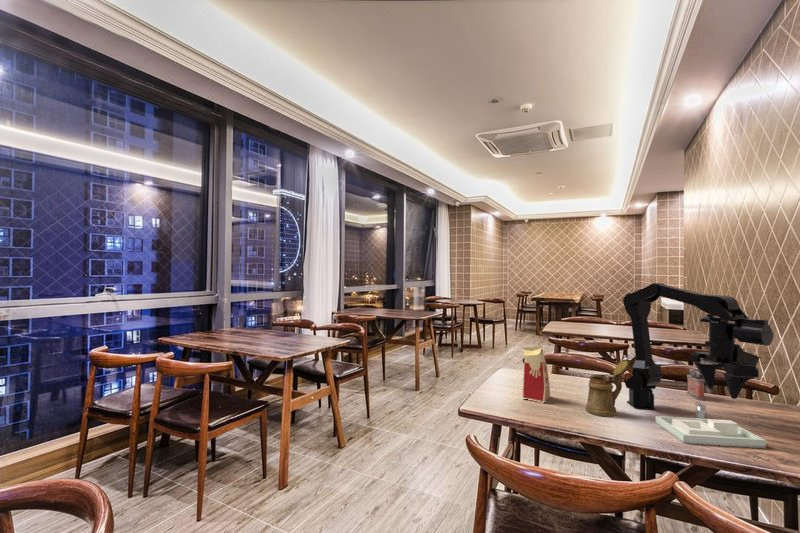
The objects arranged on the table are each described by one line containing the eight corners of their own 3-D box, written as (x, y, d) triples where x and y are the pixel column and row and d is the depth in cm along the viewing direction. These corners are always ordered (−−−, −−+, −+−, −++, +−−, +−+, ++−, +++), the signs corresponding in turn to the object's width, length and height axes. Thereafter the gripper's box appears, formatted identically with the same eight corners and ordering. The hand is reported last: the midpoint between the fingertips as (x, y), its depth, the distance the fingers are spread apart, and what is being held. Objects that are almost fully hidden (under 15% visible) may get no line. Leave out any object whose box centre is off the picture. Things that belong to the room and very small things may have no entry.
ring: (689, 437, 102) (689, 424, 102) (672, 425, 110) (672, 413, 110) (745, 440, 100) (745, 427, 100) (723, 428, 108) (723, 416, 108)
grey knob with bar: (699, 421, 115) (699, 405, 115) (692, 417, 118) (692, 401, 118) (708, 421, 114) (708, 405, 115) (701, 417, 118) (700, 402, 118)
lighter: (707, 401, 134) (707, 373, 134) (697, 400, 134) (696, 373, 135) (694, 394, 142) (694, 368, 142) (684, 393, 142) (684, 367, 142)
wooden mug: (636, 419, 116) (636, 362, 117) (591, 416, 118) (590, 360, 119) (623, 408, 125) (623, 356, 125) (581, 406, 127) (581, 354, 127)
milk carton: (550, 396, 137) (550, 343, 137) (545, 404, 129) (545, 347, 129) (525, 392, 142) (525, 340, 142) (519, 399, 134) (519, 344, 134)
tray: (683, 443, 100) (683, 435, 100) (655, 423, 113) (655, 416, 113) (766, 448, 97) (765, 440, 97) (727, 427, 110) (727, 420, 110)
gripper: (782, 346, 96) (782, 406, 95) (728, 334, 114) (728, 384, 114) (734, 345, 97) (734, 403, 97) (689, 333, 116) (689, 382, 115)
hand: (721, 393), depth 106 cm, fingers open, 9 cm apart
